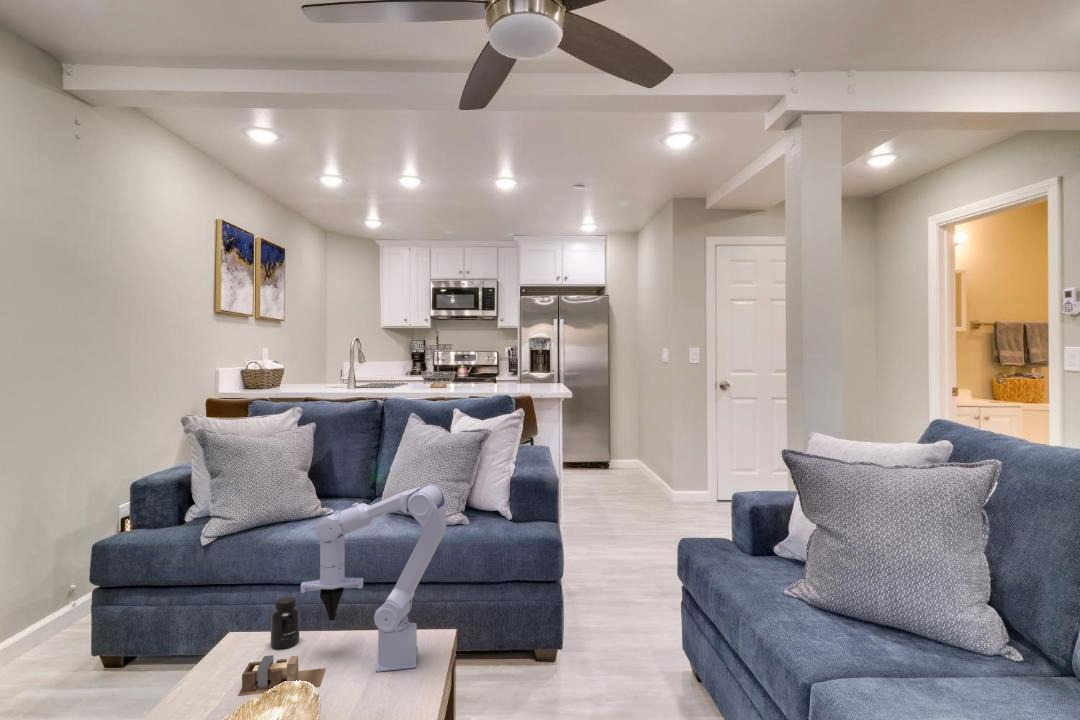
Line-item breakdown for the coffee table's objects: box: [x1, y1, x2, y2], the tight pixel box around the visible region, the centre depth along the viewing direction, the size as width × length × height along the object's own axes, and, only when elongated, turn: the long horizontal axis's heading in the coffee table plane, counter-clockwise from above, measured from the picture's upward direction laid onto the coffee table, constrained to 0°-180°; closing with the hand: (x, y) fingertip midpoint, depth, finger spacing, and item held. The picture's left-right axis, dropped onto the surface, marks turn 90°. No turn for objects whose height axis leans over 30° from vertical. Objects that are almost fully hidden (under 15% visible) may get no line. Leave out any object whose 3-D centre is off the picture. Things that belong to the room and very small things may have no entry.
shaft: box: [253, 655, 299, 681], centre depth 128 cm, size 9×4×4 cm, turn 102°
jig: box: [237, 658, 327, 697], centre depth 128 cm, size 17×8×5 cm, turn 102°
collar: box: [258, 654, 275, 690], centre depth 128 cm, size 2×5×5 cm, turn 12°
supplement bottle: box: [270, 596, 301, 651], centre depth 146 cm, size 7×7×12 cm
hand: (332, 618), depth 140 cm, fingers closed
